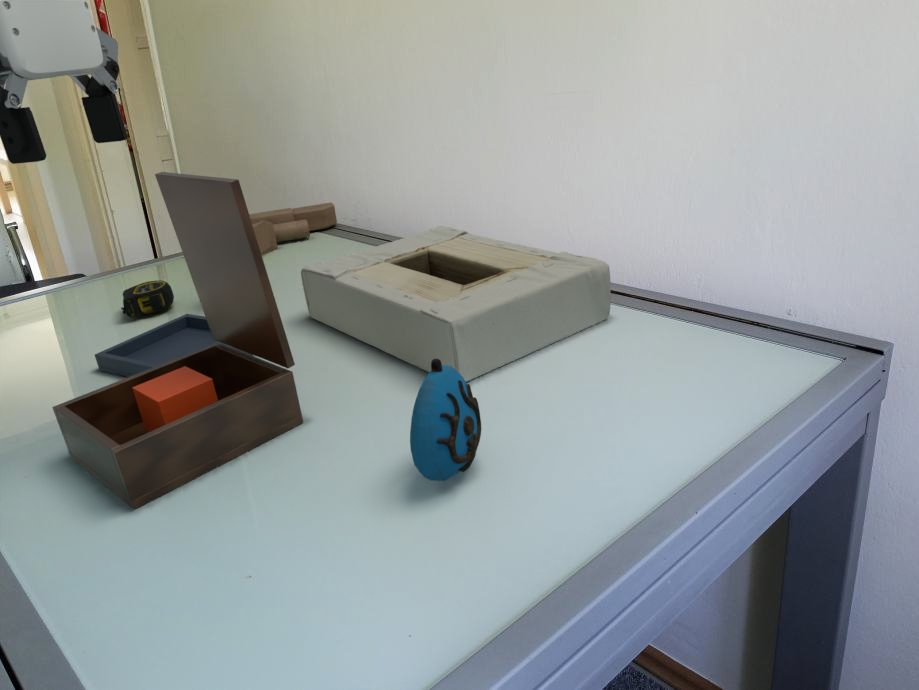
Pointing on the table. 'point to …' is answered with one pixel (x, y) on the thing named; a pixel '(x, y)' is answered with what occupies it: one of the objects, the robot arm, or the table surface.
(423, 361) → the box
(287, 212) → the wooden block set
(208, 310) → the lid
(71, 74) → the robot arm
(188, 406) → the cube
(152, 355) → the tray
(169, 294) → the tape measure
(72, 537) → the table surface
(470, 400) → the ornament
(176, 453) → the chest
